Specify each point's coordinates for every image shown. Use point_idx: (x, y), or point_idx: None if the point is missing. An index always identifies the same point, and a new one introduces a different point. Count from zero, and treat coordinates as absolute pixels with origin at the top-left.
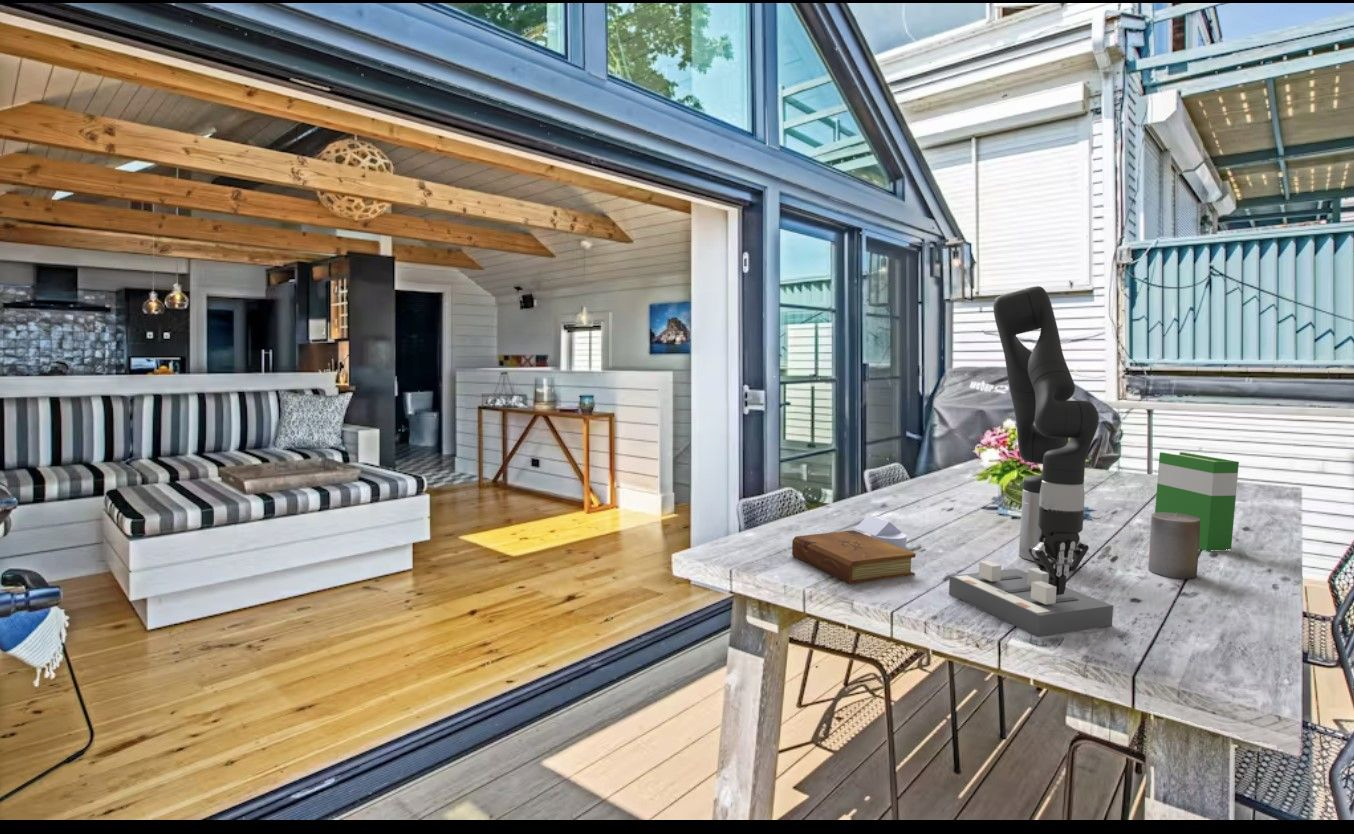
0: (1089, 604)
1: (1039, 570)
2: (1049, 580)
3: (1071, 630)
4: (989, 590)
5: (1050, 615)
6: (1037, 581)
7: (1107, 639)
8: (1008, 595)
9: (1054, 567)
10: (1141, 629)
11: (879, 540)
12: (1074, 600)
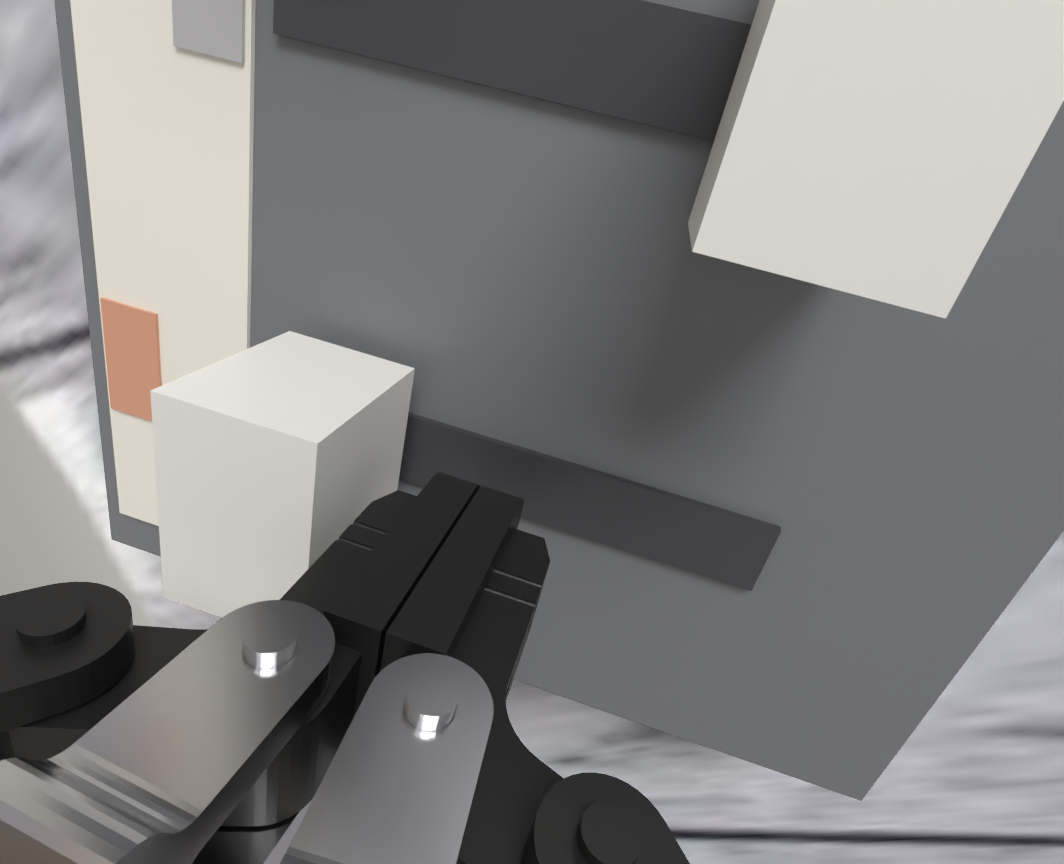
0: (700, 681)
1: (950, 39)
2: (319, 570)
3: None
4: None
5: None
6: (250, 422)
7: (548, 696)
8: (190, 96)
9: (354, 731)
10: (913, 779)
11: None
12: (698, 571)
